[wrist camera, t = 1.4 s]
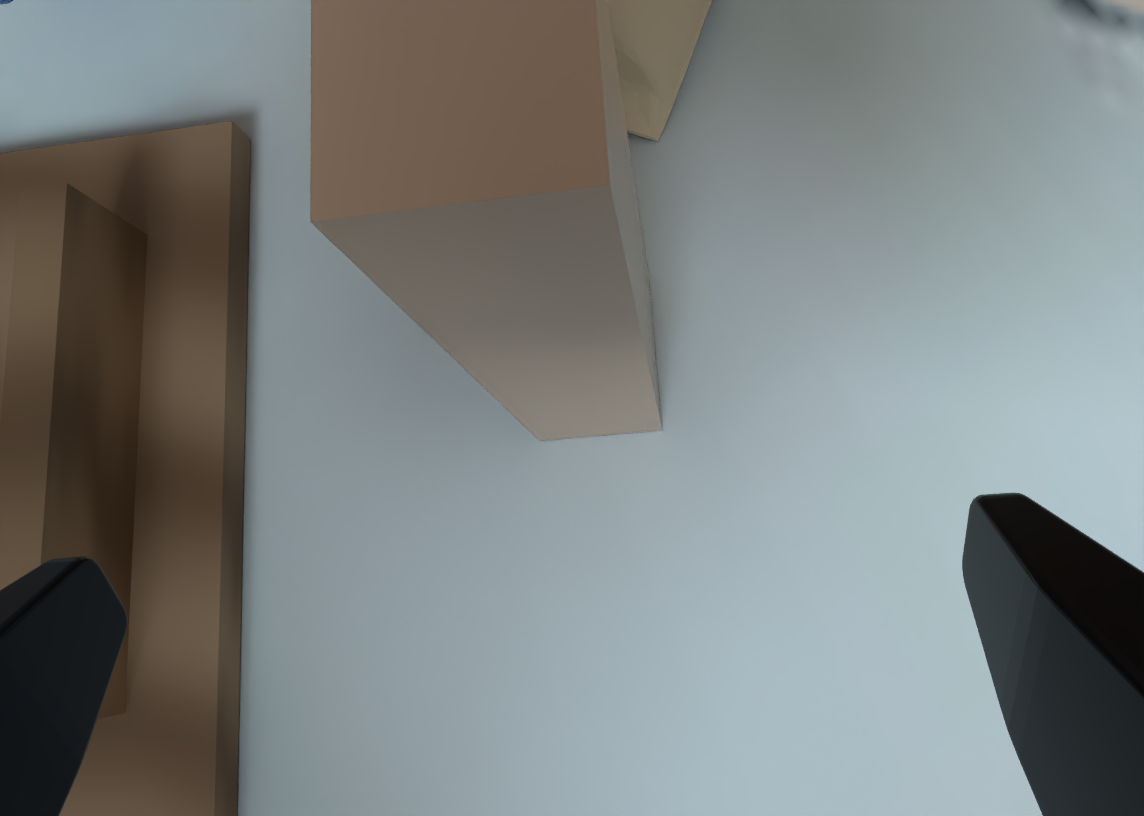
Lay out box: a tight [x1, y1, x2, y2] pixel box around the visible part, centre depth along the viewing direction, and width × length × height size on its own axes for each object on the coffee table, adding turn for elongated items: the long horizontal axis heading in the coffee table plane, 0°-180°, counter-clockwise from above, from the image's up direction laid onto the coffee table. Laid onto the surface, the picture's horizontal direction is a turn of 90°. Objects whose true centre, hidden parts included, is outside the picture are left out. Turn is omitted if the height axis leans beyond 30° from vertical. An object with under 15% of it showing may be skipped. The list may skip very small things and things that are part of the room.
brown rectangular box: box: [311, 0, 662, 441], centre depth 15 cm, size 3×4×13 cm
